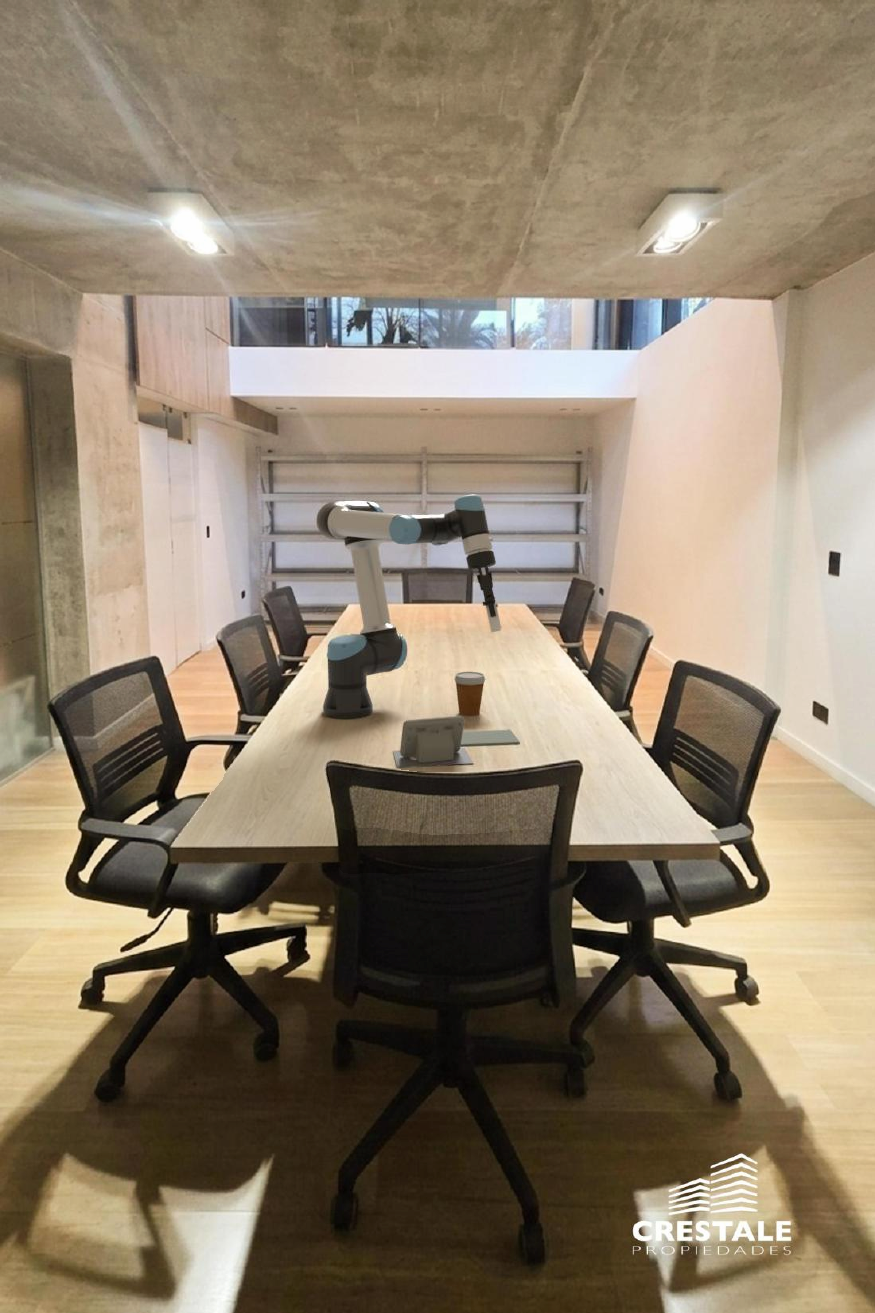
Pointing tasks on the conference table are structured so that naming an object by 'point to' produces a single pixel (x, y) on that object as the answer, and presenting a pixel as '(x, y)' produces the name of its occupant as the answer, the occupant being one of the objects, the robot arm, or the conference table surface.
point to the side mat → (488, 738)
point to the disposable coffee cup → (469, 692)
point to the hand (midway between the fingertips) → (496, 630)
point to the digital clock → (432, 738)
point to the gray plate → (459, 758)
